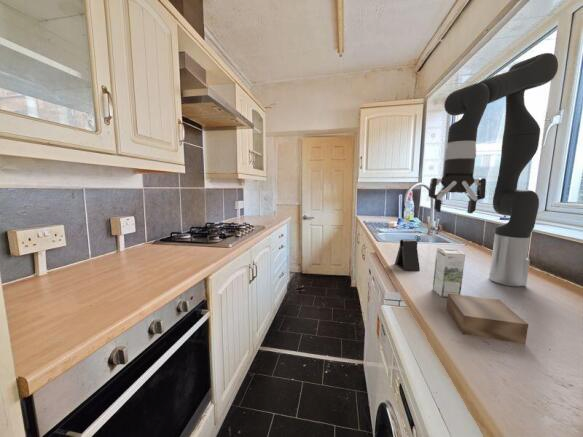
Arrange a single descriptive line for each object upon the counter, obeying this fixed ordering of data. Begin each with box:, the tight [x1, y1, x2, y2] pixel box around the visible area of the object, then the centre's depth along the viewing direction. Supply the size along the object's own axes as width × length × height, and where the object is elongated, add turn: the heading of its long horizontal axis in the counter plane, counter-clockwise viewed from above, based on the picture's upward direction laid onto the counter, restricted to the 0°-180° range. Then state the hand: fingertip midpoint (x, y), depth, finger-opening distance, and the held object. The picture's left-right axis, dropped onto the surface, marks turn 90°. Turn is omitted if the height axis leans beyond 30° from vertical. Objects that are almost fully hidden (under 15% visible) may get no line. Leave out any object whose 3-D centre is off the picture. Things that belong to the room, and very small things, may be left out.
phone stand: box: [394, 239, 421, 272], centre depth 102 cm, size 9×6×12 cm, turn 4°
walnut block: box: [445, 294, 529, 345], centre depth 61 cm, size 12×12×5 cm
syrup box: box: [432, 248, 466, 298], centre depth 77 cm, size 6×6×14 cm
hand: (453, 212), depth 74 cm, fingers open, 8 cm apart
